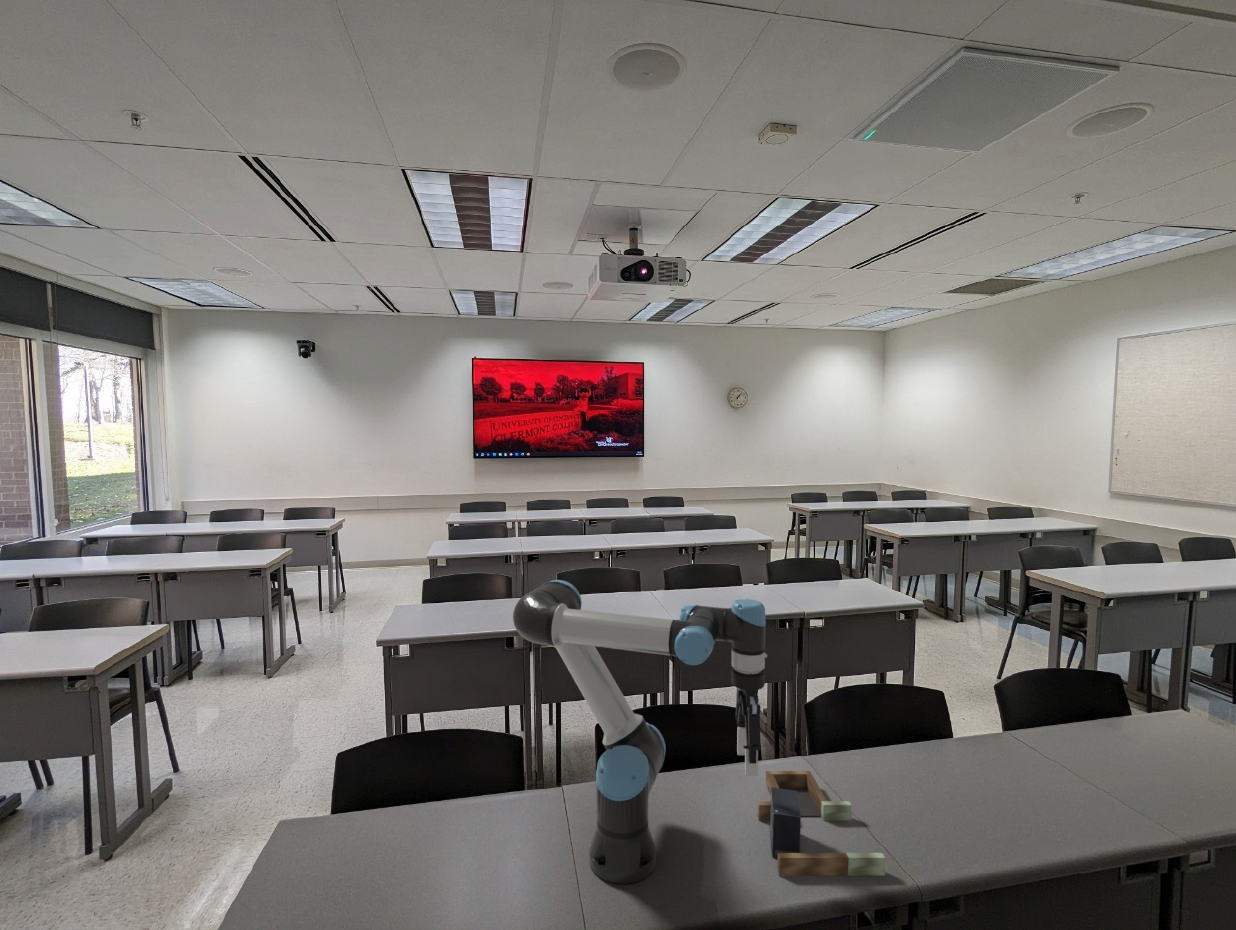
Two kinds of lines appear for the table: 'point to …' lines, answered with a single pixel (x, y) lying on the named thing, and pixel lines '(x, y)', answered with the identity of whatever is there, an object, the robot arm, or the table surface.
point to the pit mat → (805, 802)
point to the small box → (784, 822)
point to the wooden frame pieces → (829, 812)
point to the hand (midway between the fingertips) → (747, 764)
